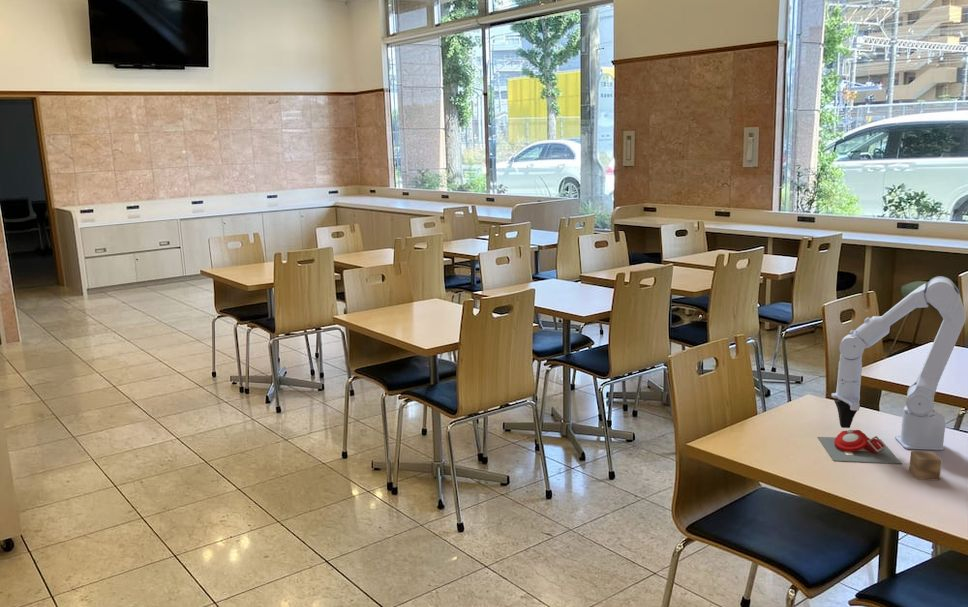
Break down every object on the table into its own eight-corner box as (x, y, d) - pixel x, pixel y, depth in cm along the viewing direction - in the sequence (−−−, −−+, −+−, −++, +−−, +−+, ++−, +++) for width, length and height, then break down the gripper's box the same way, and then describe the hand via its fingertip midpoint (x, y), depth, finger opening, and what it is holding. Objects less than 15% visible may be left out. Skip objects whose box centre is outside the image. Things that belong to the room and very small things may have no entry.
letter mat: (880, 439, 213) (880, 439, 213) (901, 464, 198) (901, 463, 198) (817, 437, 216) (817, 436, 215) (833, 461, 200) (833, 460, 200)
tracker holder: (833, 447, 205) (832, 425, 213) (836, 461, 206) (835, 439, 215) (885, 443, 199) (883, 421, 208) (888, 458, 201) (885, 436, 209)
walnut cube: (931, 471, 193) (933, 452, 192) (939, 480, 189) (941, 460, 188) (909, 470, 194) (911, 451, 193) (916, 479, 189) (918, 459, 188)
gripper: (826, 370, 223) (822, 417, 225) (840, 386, 209) (836, 436, 211) (853, 371, 222) (849, 418, 224) (869, 387, 208) (865, 437, 210)
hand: (844, 427), depth 218 cm, fingers closed
